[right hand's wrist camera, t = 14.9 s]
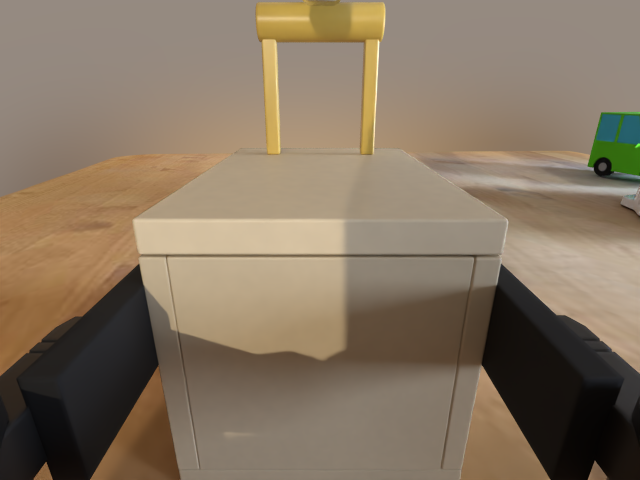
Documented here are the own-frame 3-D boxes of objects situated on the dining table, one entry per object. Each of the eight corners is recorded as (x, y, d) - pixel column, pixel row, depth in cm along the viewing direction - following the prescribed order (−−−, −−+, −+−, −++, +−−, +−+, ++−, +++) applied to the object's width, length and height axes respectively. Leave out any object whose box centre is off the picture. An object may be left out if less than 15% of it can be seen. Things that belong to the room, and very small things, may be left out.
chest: (248, 295, 26) (239, 167, 23) (391, 295, 26) (401, 167, 23) (180, 485, 13) (137, 257, 10) (459, 486, 13) (503, 257, 10)
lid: (241, 164, 23) (230, 13, 20) (398, 165, 23) (410, 13, 20) (136, 255, 10) (61, -143, 7) (503, 256, 10) (580, -143, 7)
